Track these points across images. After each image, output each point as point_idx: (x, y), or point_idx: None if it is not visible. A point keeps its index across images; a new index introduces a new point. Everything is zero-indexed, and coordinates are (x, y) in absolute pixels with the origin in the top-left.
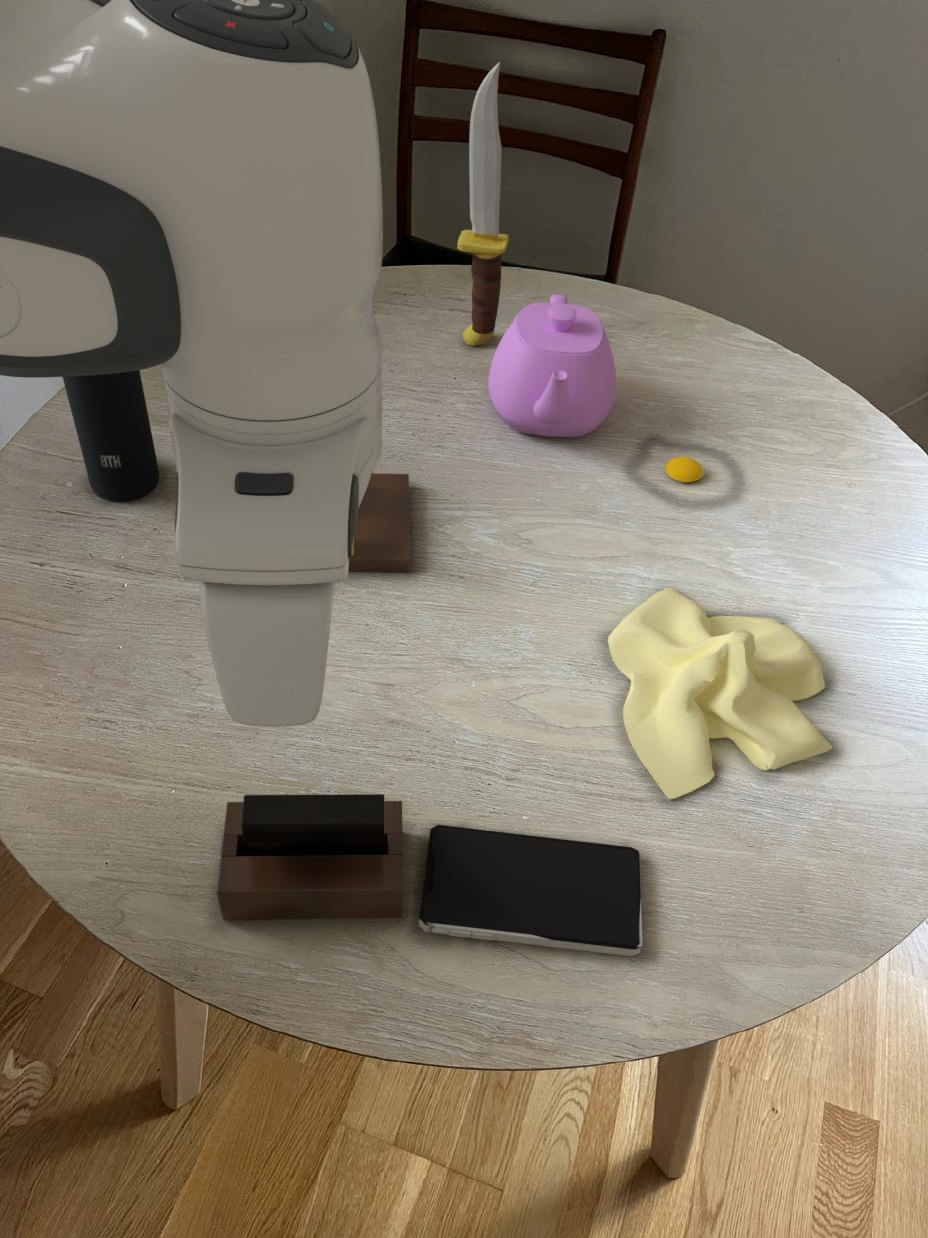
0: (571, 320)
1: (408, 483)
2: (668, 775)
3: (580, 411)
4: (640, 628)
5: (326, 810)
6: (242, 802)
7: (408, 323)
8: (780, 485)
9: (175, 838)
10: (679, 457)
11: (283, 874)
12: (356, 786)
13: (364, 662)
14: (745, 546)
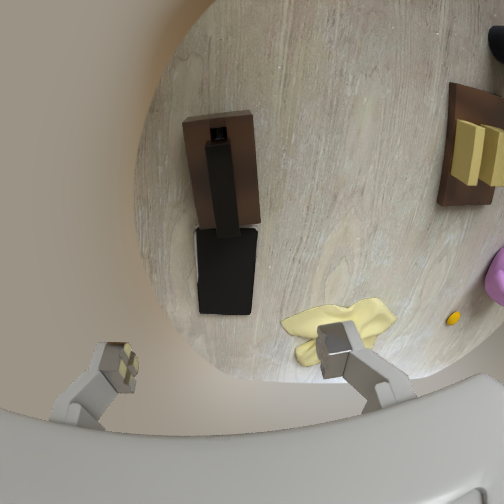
0: None
1: (486, 204)
2: (293, 321)
3: (492, 289)
4: (375, 314)
5: (222, 202)
6: (252, 124)
7: None
8: (433, 346)
9: (242, 75)
10: (458, 318)
11: (199, 161)
12: (288, 179)
13: (379, 178)
14: (409, 339)
